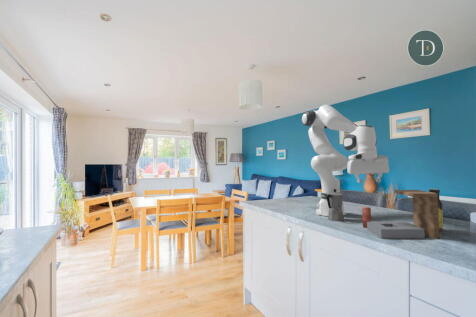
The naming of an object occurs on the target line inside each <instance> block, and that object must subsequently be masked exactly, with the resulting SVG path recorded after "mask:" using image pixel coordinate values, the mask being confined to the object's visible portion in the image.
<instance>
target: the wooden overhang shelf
mask: <svg viewBox="0 0 476 317" xmlns="http://www.w3.org/2000/svg"><path fill="white" fill-rule="evenodd" d="M394 192H395V193H394V194H398V195H401V196H402V195H403V196H406V197H410V198H412V214H413V215H412V216H413V225H415V226H418V227H420V228H423V229H424V235H425V236H428V237H430V238H432V239H440V231H439V219H438V198H437V193H433V192H429V191H426V190H420V189H395V190H394Z"/></svg>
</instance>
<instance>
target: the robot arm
mask: <svg viewBox="0 0 476 317" xmlns="http://www.w3.org/2000/svg"><path fill="white" fill-rule="evenodd" d="M301 122H302V125H303V126H304V127H309V129H308V130H307V132H308V133H307V134H308V138H309V142H310V143H311V146H312V148H313V150H314V152H315V153H316V154H317V155H315V156H312V158H311V160H310V166H311V169H312V170H313V171H314V172H316V173H317V175H318V177H319V179H320V185H321V193H320V200H319V202H318V203H316V207H317V208H316V209H315V213H316V216H317V215H318V216H324V217H328V215H329V206H328V202H327V194H328V193H332V192H334V189H336V192H337V193H341V188H340V187H341V186H340V184H341V183H340V180H339V179H338V178H337V177H335V176H334V174H333V172H340V171H343V170H347V171H346V173H348V175H354V178H355V179H356V180H357V183H358V184H361V183H363V181H362V179H361V178H360V177H359V176H360V175H363V174H364V175H365V174H377V178H375V182H376V183H381V178H382V177H383V174H388V173H389V172H390V165H389V158H388V156H386V155H385V154H384V155H383V154H382V155H381V154H379V155H378V153H377V152H378V151H377V150H378V149H377V143H378V141H377V135H376V130H375V127H374V126H373V125H369V124H368V125H365V124H364V125H362V124H361V125H357V124H356V123H354V122H353V121H352V120H350V119H348V118H347V117H345V116H344V115H343V114H341V113H340V111H338V110H337V109H336V108H334V107H333V106H331V105H330V104H322V105H321V106H319V108H318V109H317V110H308V111H305V112H303V113H302V116H301ZM325 129H329V130H332V131H340V132H346V133H348V134H346V135H345V136H344V137H343V139H342V145H343V148H344V150H346V151H351V152H357V153H353V154H351V155H348V158H347V156H346V155H344V154H341V153H340V152H339V151H338V150H337V149H336V148H334V147H333V145H332V143H331V142H330V140H329V138H328V137H327V135H326V133H325V131H324V130H325ZM344 205H345V204H344V201H342V211H343V216H346V215H347V213H348V212H345V206H344Z"/></svg>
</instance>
